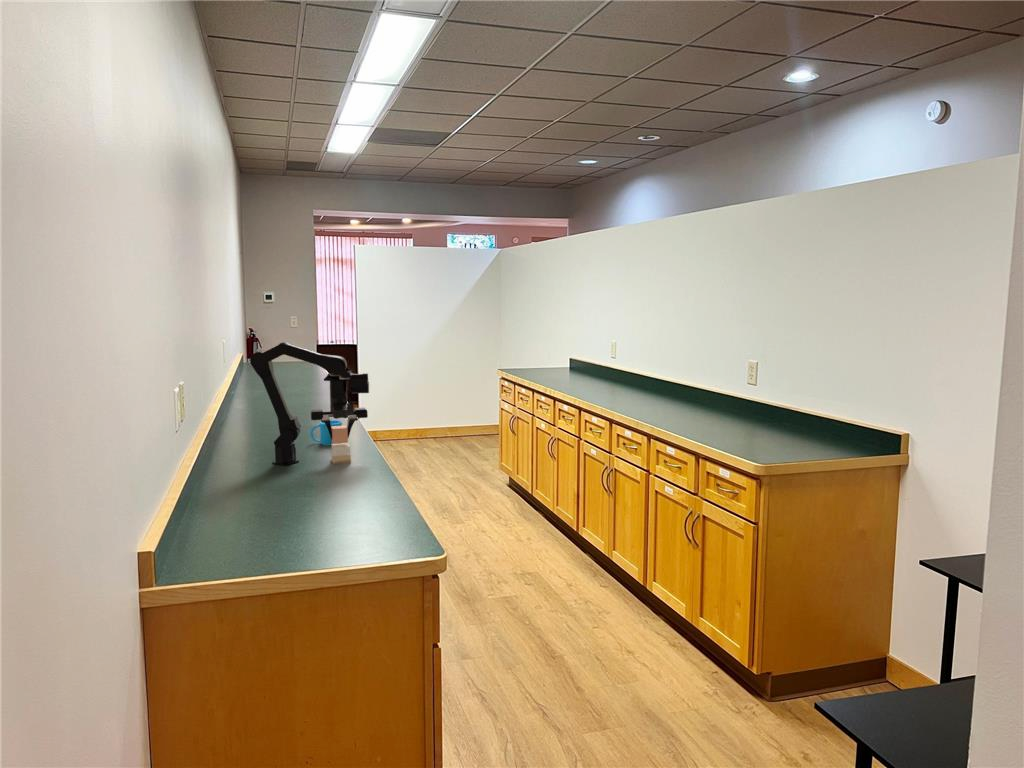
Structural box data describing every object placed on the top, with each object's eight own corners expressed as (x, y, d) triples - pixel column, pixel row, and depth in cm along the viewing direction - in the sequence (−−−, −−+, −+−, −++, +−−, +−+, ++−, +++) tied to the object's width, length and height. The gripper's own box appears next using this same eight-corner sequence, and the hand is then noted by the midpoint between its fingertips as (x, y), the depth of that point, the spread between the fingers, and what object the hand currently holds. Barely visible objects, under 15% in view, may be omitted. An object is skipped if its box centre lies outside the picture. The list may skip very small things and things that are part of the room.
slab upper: (350, 455, 255) (350, 446, 254) (332, 456, 253) (332, 447, 253) (349, 451, 260) (349, 443, 260) (331, 452, 259) (331, 443, 258)
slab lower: (350, 463, 255) (350, 454, 255) (332, 464, 254) (332, 456, 253) (349, 459, 261) (349, 451, 261) (331, 460, 259) (331, 452, 259)
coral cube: (347, 442, 255) (347, 428, 254) (332, 443, 253) (332, 428, 252) (346, 439, 259) (346, 425, 259) (331, 440, 258) (331, 426, 257)
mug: (342, 440, 293) (341, 420, 292) (342, 444, 285) (341, 423, 284) (310, 442, 290) (309, 421, 289) (309, 446, 282) (309, 425, 281)
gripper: (311, 397, 244) (312, 444, 246) (369, 395, 249) (370, 441, 251) (309, 393, 254) (311, 438, 256) (365, 391, 260) (366, 435, 262)
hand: (339, 438), depth 256 cm, fingers closed on coral cube, 5 cm apart
